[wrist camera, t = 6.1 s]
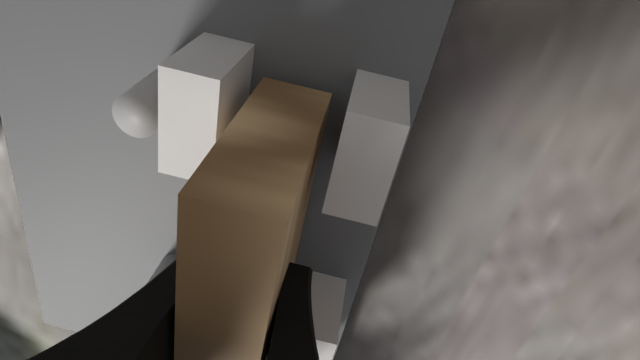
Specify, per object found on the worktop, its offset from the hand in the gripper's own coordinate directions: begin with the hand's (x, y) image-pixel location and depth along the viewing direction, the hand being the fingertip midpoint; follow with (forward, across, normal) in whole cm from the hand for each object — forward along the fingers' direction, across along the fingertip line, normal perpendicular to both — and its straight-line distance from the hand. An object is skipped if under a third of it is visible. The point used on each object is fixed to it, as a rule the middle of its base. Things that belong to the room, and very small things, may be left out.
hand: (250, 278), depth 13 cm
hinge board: (+5, +3, 0) cm, 6 cm away
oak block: (+3, 0, 0) cm, 3 cm away
